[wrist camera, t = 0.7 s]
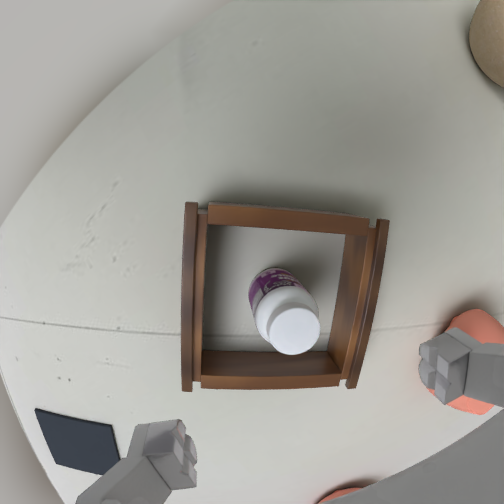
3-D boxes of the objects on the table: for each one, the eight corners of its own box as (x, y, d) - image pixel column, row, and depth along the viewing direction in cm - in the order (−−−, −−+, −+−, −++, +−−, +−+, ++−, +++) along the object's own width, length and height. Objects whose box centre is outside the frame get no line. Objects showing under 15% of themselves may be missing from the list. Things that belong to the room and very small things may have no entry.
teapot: (443, 272, 35) (511, 303, 23) (497, 334, 39) (546, 365, 27) (382, 359, 36) (433, 414, 24) (450, 400, 40) (492, 441, 28)
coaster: (35, 408, 32) (34, 410, 32) (111, 425, 34) (110, 427, 33) (56, 461, 35) (55, 463, 34) (125, 477, 36) (124, 479, 36)
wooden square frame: (190, 199, 30) (185, 202, 24) (363, 214, 32) (390, 220, 26) (185, 362, 33) (181, 391, 28) (338, 362, 35) (355, 388, 30)
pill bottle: (303, 269, 32) (337, 302, 23) (294, 317, 33) (321, 363, 24) (251, 263, 32) (266, 295, 22) (243, 313, 33) (255, 361, 23)
